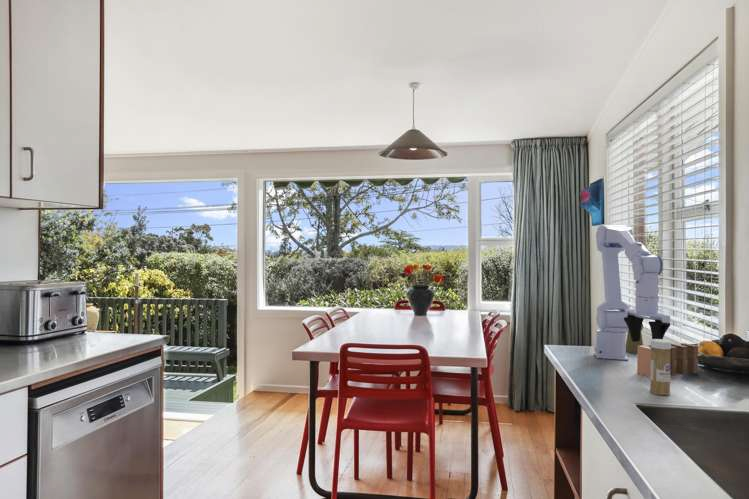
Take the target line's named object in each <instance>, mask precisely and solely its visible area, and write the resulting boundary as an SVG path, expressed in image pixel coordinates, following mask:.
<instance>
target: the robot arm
mask: <svg viewBox="0 0 749 499" xmlns="http://www.w3.org/2000/svg"><path fill="white" fill-rule="evenodd" d="M596 229H597V230H596V232H595V240H596V242H595V243H596V248H597V251H598V252H600V253H601V257H602V258H601V259H602V271H603V274H602V275H603V288H604V298H605V300H604V301H603V302H602V303H600V304H598V306H597V308H596V318H595V319H596V324H597V327H598V328H599V329H595V332H594V350H593V351H594V354H595V357H596V358H598V359H606V360H619V361H628V360H629V357H628V356H627V354H626V353H627V352H626V341H627V333H628V330H629V331H630V335H631V339H632V341H633V342H638V341H640V332H641V333H642V330H641V326H642V324H643V322H644V320H651V321H648V325H649V327H650V332H651V340H652V339H663V340H664V336H665V334H666V332H667V331H668V329H669V328H670V327H671V315H668V314H664V313H661V312H659V311H658V310H659V276H660V275H662V272H663V271H664V270H663V269H664V263H663V259H662V257H661V256H660V254H652V252H650V251H649V250H648V248H646V247H645V245H644V244H643V243H642V242H641V241H640V242H639V241H636V240H635V239H634V237H633V235H634V234H633V233H634V232H633V228H632V227H631V226H630V225H629V224H626V225H622V224H621V225H613V224H611V225H609V224H607V225H606V224H600V225H599V226H598V227H597V228H596ZM623 251H624V254H625V257H626V258H627V259H628V261H629V262H630V263H631V268H632V272H633V280H634V281H635V307H634V308H635V309H633V308H630V306H629V305H628V304H627V303H625V302H624V301H622V292H621V291H622V289H621V279H620V278H621V277H620V266H619V264H620V263H619V254H620V253H622V252H623Z"/></svg>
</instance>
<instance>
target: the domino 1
mask: <svg viewBox="0 0 749 499" xmlns="http://www.w3.org/2000/svg"><path fill="white" fill-rule="evenodd" d="M636 355H637V356H636V358H637V360H636V361H637V362H636V363H637V365H636V367H637V369H636V371H637V372H636V373H637V374H639V375H643V376H646V377H649V378H650V365H651V348H650V347H649V346H645V345H643V346H642V345H641V346H638V352H637V354H636Z"/></svg>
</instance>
